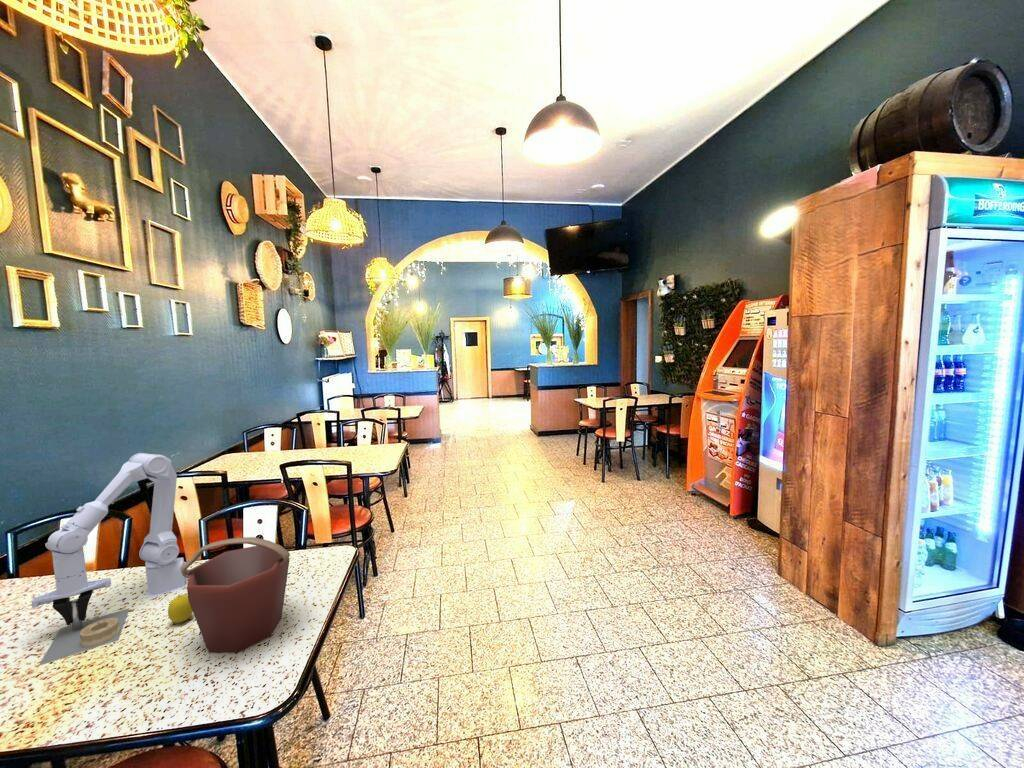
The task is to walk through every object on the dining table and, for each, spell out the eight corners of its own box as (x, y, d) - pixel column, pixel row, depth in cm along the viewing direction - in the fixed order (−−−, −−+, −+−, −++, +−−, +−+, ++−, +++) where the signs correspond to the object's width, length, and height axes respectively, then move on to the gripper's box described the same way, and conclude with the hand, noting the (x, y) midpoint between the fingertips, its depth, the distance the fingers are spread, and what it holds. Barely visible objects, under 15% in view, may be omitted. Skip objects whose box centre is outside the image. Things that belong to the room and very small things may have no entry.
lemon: (199, 619, 115) (196, 591, 115) (176, 631, 110) (173, 603, 110) (187, 614, 118) (185, 587, 117) (165, 626, 112) (162, 598, 112)
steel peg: (83, 625, 113) (80, 597, 113) (82, 629, 112) (78, 601, 111) (73, 628, 112) (69, 600, 111) (71, 632, 110) (67, 604, 110)
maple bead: (121, 624, 113) (120, 614, 113) (116, 638, 107) (115, 627, 107) (85, 635, 109) (84, 625, 109) (78, 650, 103) (76, 639, 103)
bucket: (164, 661, 99) (154, 561, 97) (231, 604, 121) (223, 523, 119) (263, 661, 98) (254, 560, 96) (311, 604, 120) (305, 521, 118)
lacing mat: (129, 610, 120) (129, 608, 120) (118, 642, 107) (118, 640, 107) (60, 630, 112) (60, 628, 112) (39, 667, 99) (38, 665, 99)
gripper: (110, 558, 118) (115, 603, 119) (34, 577, 109) (41, 625, 110) (106, 568, 113) (112, 615, 114) (26, 588, 104) (33, 639, 105)
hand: (76, 621), depth 112 cm, fingers closed on steel peg, 2 cm apart
